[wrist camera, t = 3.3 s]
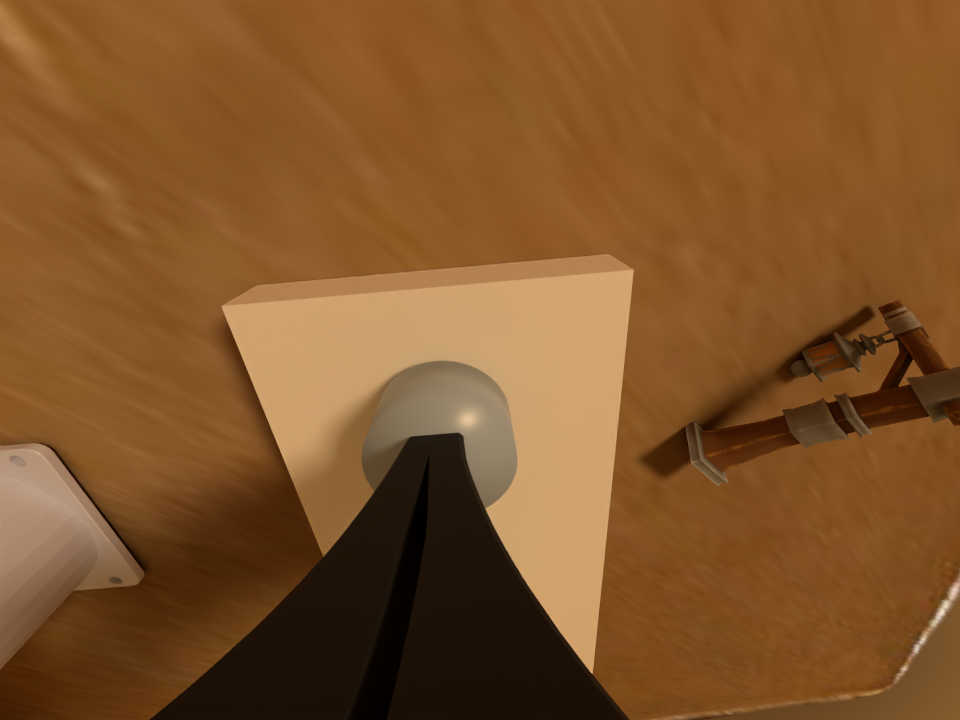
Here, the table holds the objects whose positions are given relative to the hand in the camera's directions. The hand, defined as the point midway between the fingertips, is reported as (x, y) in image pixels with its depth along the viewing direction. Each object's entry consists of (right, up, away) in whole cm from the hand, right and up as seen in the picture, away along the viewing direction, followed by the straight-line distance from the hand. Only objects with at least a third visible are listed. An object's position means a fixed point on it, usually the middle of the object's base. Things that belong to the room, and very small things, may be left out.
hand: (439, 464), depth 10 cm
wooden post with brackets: (+12, +2, +5) cm, 13 cm away
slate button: (0, +1, +3) cm, 3 cm away
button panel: (+1, -5, +7) cm, 9 cm away
